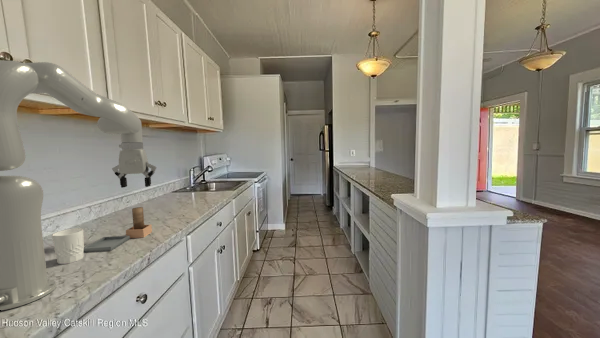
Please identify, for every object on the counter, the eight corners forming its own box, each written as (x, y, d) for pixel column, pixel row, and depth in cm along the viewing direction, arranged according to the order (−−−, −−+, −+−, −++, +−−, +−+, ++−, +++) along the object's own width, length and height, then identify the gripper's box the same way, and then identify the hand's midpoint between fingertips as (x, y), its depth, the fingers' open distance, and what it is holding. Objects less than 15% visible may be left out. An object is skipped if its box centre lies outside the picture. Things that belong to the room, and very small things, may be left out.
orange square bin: (143, 238, 105) (143, 229, 105) (126, 239, 104) (125, 230, 104) (152, 233, 112) (151, 224, 112) (135, 233, 111) (135, 225, 111)
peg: (142, 236, 106) (139, 209, 105) (132, 236, 106) (130, 209, 105) (146, 233, 110) (144, 206, 109) (137, 233, 110) (135, 207, 109)
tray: (111, 252, 92) (110, 246, 92) (82, 253, 91) (81, 248, 91) (130, 240, 104) (129, 235, 103) (104, 241, 103) (104, 236, 102)
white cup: (67, 266, 81) (64, 236, 80) (48, 264, 83) (45, 235, 82) (91, 255, 89) (89, 228, 88) (74, 254, 90) (71, 227, 90)
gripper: (105, 147, 100) (108, 189, 102) (149, 146, 102) (152, 187, 104) (116, 147, 108) (120, 186, 109) (158, 146, 109) (161, 184, 111)
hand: (136, 186), depth 106 cm, fingers open, 9 cm apart
